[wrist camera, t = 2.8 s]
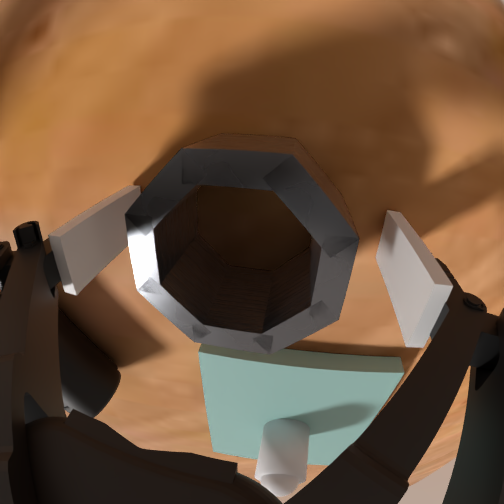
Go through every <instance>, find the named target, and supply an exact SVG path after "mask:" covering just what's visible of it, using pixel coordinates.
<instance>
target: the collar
mask: <svg viewBox="0 0 504 504" xmlns="http://www.w3.org/2000/svg"><path fill="white" fill-rule="evenodd" d="M202 185H210V186H224V187H237V188H249V189H260V190H271V191H274V192H275V193H276V194H277V196H278V197H279V198H280V199H281V200H282V201H283V202H284V204H285V205H286V206H287V207H288V208H289V209H290V211H291V212H292V213H293V214H294V215H295V216H296V218H297V219H298V220H299V221H300V222H301V223H302V225H303V226H304V227H305V228H306V229H307V231H308V232H309V233H310V234H311V242H310V247H308V248H307V249H306V250H304V251H303V252H301V253H300V254H298V255H297V256H295V257H294V258H292V259H291V260H289V261H288V262H286V263H285V264H284V265H282V266H281V267H279V268H278V269H276V270H275V271H268V270H260V269H252V268H244V267H236V266H229V265H228V264H227V263H226V262H225V261H224V260H223V259H222V258H221V257H220V256H219V255H218V254H217V253H216V252H215V250H214V249H213V248H212V247H211V246H210V245H209V244H208V243H207V242H206V241H205V240H204V239H203V238H202V237H201V236H200V235H199V234H198V207H197V190H198V189H199V188H200V187H201V186H202ZM124 215H125V222H126V229H127V236H128V243H129V249H130V255H131V261H132V266H133V272H134V277H135V282H136V287H137V291H138V292H139V293H140V294H142V295H143V296H144V297H145V298H146V299H147V300H148V301H149V302H150V303H151V304H152V305H153V306H154V307H155V308H156V309H157V310H159V311H160V312H161V313H162V314H163V315H164V316H165V317H166V318H167V319H168V320H170V321H171V322H172V323H173V324H174V325H175V326H176V327H177V328H179V329H180V330H181V331H182V332H183V333H184V334H186V335H187V336H188V337H189V338H190V339H191V340H193V341H194V342H197V343H202V344H207V345H213V346H218V347H224V348H230V349H236V350H242V351H249V352H255V353H262V354H270V355H271V354H273V353H275V352H277V351H279V350H281V349H283V348H285V347H287V346H289V345H291V344H293V343H295V342H297V341H299V340H301V339H303V338H305V337H307V336H309V335H311V334H313V333H315V332H317V331H319V330H320V329H322V328H324V327H326V326H328V325H330V324H332V323H333V322H335V321H337V320H339V316H340V313H341V309H342V306H343V302H344V299H345V295H346V291H347V288H348V284H349V280H350V276H351V272H352V268H353V264H354V260H355V255H356V251H357V247H358V242H359V236H358V234H357V231H356V228H355V226H354V223H353V221H352V218H351V216H350V213H349V211H348V208H347V206H346V204H345V201H344V199H343V196H342V194H341V193H340V192H339V191H338V189H337V188H336V187H335V185H334V184H333V183H332V182H331V180H330V179H329V178H328V177H327V175H326V174H325V173H324V172H323V170H322V169H321V168H320V167H319V165H318V164H317V163H316V162H315V160H314V159H313V158H312V157H311V156H310V154H309V153H308V152H307V151H306V150H305V148H304V147H303V146H302V145H301V144H300V143H299V141H298V140H297V139H296V138H287V137H276V136H263V135H246V134H219V135H216V136H213V137H210V138H207V139H204V140H202V141H199V142H196V143H194V144H191V145H188V146H186V147H183V148H181V149H180V150H179V151H178V153H177V154H176V155H175V156H174V157H173V158H172V159H171V160H170V161H169V162H168V163H167V164H166V166H165V167H164V168H163V169H162V170H161V171H160V172H159V173H158V175H157V176H156V177H155V178H154V179H153V180H152V181H151V183H150V184H149V185H148V186H147V187H146V188H145V190H144V191H143V192H142V193H141V194H140V196H139V197H138V198H137V199H136V200H135V202H134V203H133V204H132V205H131V207H130V208H129V209H128V210H127V212H126V213H125V214H124Z"/></svg>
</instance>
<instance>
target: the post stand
mask: <svg viewBox="0 0 504 504" xmlns="http://www.w3.org/2000/svg"><path fill="white" fill-rule="evenodd" d="M198 353H199V361H200V369H201V377H202V384H203V391H204V398H205V405H206V411H207V418H208V424H209V430H210V436H211V441H212V447H213V452H218V453H223V454H228V455H233V456H239V457H245V458H252V459H258V461H257V467H256V472H255V478H256V479H257V480H259V481H261V485H262V486H264V487H265V488H267V489H268V490H269V491H270V492H271V493H273V494H274V495H275V496H278V497H281V496H286V495H289V494H291V493H292V492H293V491H294V490H295V489H296V488H297V486H298V484H300V483H303V482H305V481H306V473H307V464H312V465H330V464H331V463H332V462H333V461H334V460H335V459H336V458H337V457H338V456H339V455H340V454H341V453H342V452H343V451H344V450H345V449H346V448H347V447H348V446H349V445H351V444H353V443H354V442H355V441H356V440H357V439H358V437H359V436H360V435H361V434H362V433H363V432H364V431H365V430H366V429H367V427H368V426H369V425H370V423H371V422H372V421H373V419H374V418H375V416H376V415H377V414H378V412H379V411H380V409H381V408H382V407H383V405H384V404H385V402H386V401H387V399H388V398H389V396H390V395H391V393H392V392H393V390H394V389H395V387H396V386H397V384H398V382H399V381H400V379H401V378H402V376H403V374H404V369H403V365H402V361H401V357H382V356H361V355H346V354H332V353H321V352H310V351H301V350H292V349H281V350H279V351H277V352H275V353H273V354H271V355H270V354H262V353H255V352H249V351H242V350H236V349H230V348H224V347H218V346H213V345H207V344H201V347H200V349H199V351H198Z"/></svg>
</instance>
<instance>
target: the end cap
mask: <svg viewBox="0 0 504 504" xmlns="http://www.w3.org/2000/svg"><path fill="white" fill-rule="evenodd" d="M58 347H59V365H60V377H61V387H62V396H63V403H64V410H66V411H67V412H69V413H71V411H72V409H75V410H77V411H79V412H81V413H83V414H86V415H88V416H90V417H92V418H94V417H95V416H96V415H98V414H99V413H100V412H101V411H102V410H103V408H104V407H105V406H106V405H107V404H108V402H109V401H110V399H111V398H112V396H113V395H114V393H115V391H116V390H117V388H118V385H119V383H120V379H121V374H120V372H119V371H118V370H117V365H116V364H115V363H114V362H112V361H111V360H110V359H109V358H108V357H107V356H106V355H105V354H104V353H102V352H101V351H100V350H99V349H98V348H97V347H96V346H95V345H94V344H93V343H92V342H91V341H90V340H89V339H88V338H87V337H86V336H85V335H84V334H83V333H82V332H81V331H80V330H79V329H78V328H77V327H76V326H75V325H74V324H73V323H72V322H71V321H70V320H69V319H68V318H67V317H66V316H65V315H64V314H63V312H62V311H61V310H60V309H59V308H58Z"/></svg>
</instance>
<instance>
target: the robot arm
mask: <svg viewBox="0 0 504 504" xmlns="http://www.w3.org/2000/svg"><path fill="white" fill-rule="evenodd" d="M140 194H141V191H140V186H132V185H129V186H127V187H125V188H123V189H121V190H120V191H118V192H116V193H114V194H113V195H111V196H109V197H107V198H106V199H104V200H102V201H101V202H99V203H97V204H96V205H94V206H92V207H91V208H89V209H87V210H86V211H84V212H83V213H81V214H79V215H78V216H76V217H75V218H73V219H71V220H70V221H68V222H67V223H65V224H64V225H62V226H61V227H59V228H58V229H56V230H55V231H53V232H52V233H50V234H49V235H48V237H49V238H48V239H46V240H45V241H43V239H42V235H41V231H40V227H39V223H38V222H37V221H30V222H26V223H23V224H21V225H19V226H17V227H16V228H15V229H14V230H13V233H14V237H15V240H16V244H17V247H18V249H17V251H12V250H11V247H10V243H9V242H8V241H4V242H0V289H1V292H0V504H282V503H281V501H280V500H279V499H278V498H277V497H276V496H275V495H274V494H273V493H271V492H270V491H269V490H268V489H267V488H265V487H264V486H262V485H261V484H259V483H258V482H256V481H254V480H252V479H251V478H249V477H247V476H244V475H242V474H240V473H237V463H235V462H229V461H224V460H219V459H215V458H210V457H206V456H202V455H197V454H194V453H187V452H169V451H157V450H147V449H142V448H139V447H137V446H136V445H134V444H133V443H131V442H130V441H128V440H127V439H126V438H124V437H123V436H121V435H120V434H119V433H117V432H116V431H115V430H113V429H112V428H111V427H109V426H108V425H107V424H105V423H103V422H101V421H99V420H96V419H94V418H92V417H90V416H88V415H86V414H83V413H81V412H79V411H77V410H75V409H72V411H71V413H70V414H69V416H68V417H66V414H65V410H64V403H63V396H62V387H61V377H60V365H59V347H58V294H59V292H58V289H57V286H56V284H58V283H59V282H60V281H61V282H62V285H63V288H64V291H65V292H67V293H70V294H73V295H78V294H79V292H80V291H81V290H82V289H83V288H84V287H85V286H86V285H87V284H88V283H89V282H90V281H91V280H92V279H93V278H94V277H95V276H96V275H97V274H99V273H100V272H101V271H102V270H103V269H104V268H105V267H106V266H107V265H108V264H109V263H110V262H111V261H112V260H113V259H114V258H115V257H116V256H117V255H118V254H119V253H121V252H122V251H123V250H124V249H125V248H126V247H127V246H128V245H129V243H128V236H127V229H126V222H125V215H124V214H125V213H126V212H127V210H128V209H129V208H130V207H131V205H132V204H133V203H134V202H135V200H136V199H137V198H138V197H139V196H140ZM376 261H377V263H378V266H379V268H380V271H381V274H382V276H383V279H384V282H385V284H386V287H387V290H388V293H389V296H390V298H391V301H392V304H393V307H394V310H395V313H396V316H397V319H398V322H399V326H400V329H401V332H402V335H403V339H404V342H405V345H406V347H420V348H423V347H424V346H425V344H426V342H427V340H428V338H429V336H431V339H432V341H431V343H430V344H429V346H428V347H427V349H426V351H425V352H424V354H423V355H422V357H421V358H420V360H419V361H418V363H417V364H416V366H415V367H414V369H413V370H412V372H411V373H410V374H409V376H408V377H407V379H406V380H405V381H404V383H403V384H402V385H401V387H400V388H399V389H398V391H397V392H396V393H395V395H394V396H393V397H392V399H391V400H390V401H389V402H388V404H387V405H386V406H385V407H384V409H383V410H382V411H381V412H380V414H379V415H378V416H377V417H376V418H375V419H374V421H373V422H372V423H371V424H370V425H369V426H368V428H367V429H366V430H365V431H364V432H363V433H362V434H361V435H360V436H359V437H358V439H357V440H356V441H355V442H354V443H353V444H351V445H349V446H348V447H347V448H346V449H345V450H344V451H343V452H342V453H341V454H340V455H339V456H338V457H337V458H336V459H335V460H334V461H333V462H332V463H331V464H330V465H329V466H328V467H327V468H325V469H324V470H323V471H322V472H321V473H320V474H319V475H318V476H317V477H316V478H314V479H313V480H312V481H311V482H310V483H309V484H307V485H306V486H305V487H304V488H303V489H302V490H300V491H299V492H298V493H297V494H295V495H294V496H293V497H292V498H290V499H289V500H288V501H287V502H285V503H284V504H398V502H399V501H400V500H401V498H402V497H403V495H404V494H405V492H406V491H407V489H408V486H409V483H408V478H409V477H410V475H411V473H412V472H413V471H414V469H415V468H416V466H417V465H418V463H419V462H420V460H421V458H422V457H423V455H424V454H425V452H426V451H427V449H428V447H429V446H430V444H431V442H432V441H433V439H434V437H435V435H436V434H437V432H438V430H439V428H440V427H441V425H442V423H443V421H444V419H445V417H446V415H447V413H448V411H449V409H450V407H451V405H452V403H453V401H454V399H455V397H456V395H457V393H458V390H459V388H460V386H461V384H462V381H463V379H464V377H465V374H466V372H467V369H468V367H469V365H470V366H471V369H470V381H469V391H468V399H467V406H466V413H465V419H464V425H463V430H462V435H461V440H460V445H459V449H458V453H457V457H456V461H455V465H454V469H453V472H452V476H451V479H450V482H449V485H448V489H447V492H446V495H445V498H444V500H443V503H442V504H504V308H503V310H502V312H501V314H500V315H499V316H496V315H493V314H490V313H487V308H486V306H485V304H484V303H483V301H482V300H481V299H479V298H478V297H476V296H475V295H473V294H470V293H466V292H464V291H463V290H462V288H461V287H460V285H459V284H458V282H457V281H456V279H454V276H453V275H452V273H450V271H449V269H448V268H447V266H446V265H445V264H444V263H443V262H441V261H440V260H439V259H438V258H434V256H433V255H432V253H431V252H430V251H429V249H428V248H427V246H426V245H425V244H424V242H423V241H422V240H421V238H420V237H419V236H418V234H417V233H416V232H415V230H414V229H413V228H412V226H411V225H410V224H409V223H408V221H407V220H406V219H405V217H404V216H403V215H402V214H401V212H396V211H390V210H387V212H386V217H385V221H384V226H383V230H382V234H381V238H380V242H379V246H378V250H377V254H376Z"/></svg>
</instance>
